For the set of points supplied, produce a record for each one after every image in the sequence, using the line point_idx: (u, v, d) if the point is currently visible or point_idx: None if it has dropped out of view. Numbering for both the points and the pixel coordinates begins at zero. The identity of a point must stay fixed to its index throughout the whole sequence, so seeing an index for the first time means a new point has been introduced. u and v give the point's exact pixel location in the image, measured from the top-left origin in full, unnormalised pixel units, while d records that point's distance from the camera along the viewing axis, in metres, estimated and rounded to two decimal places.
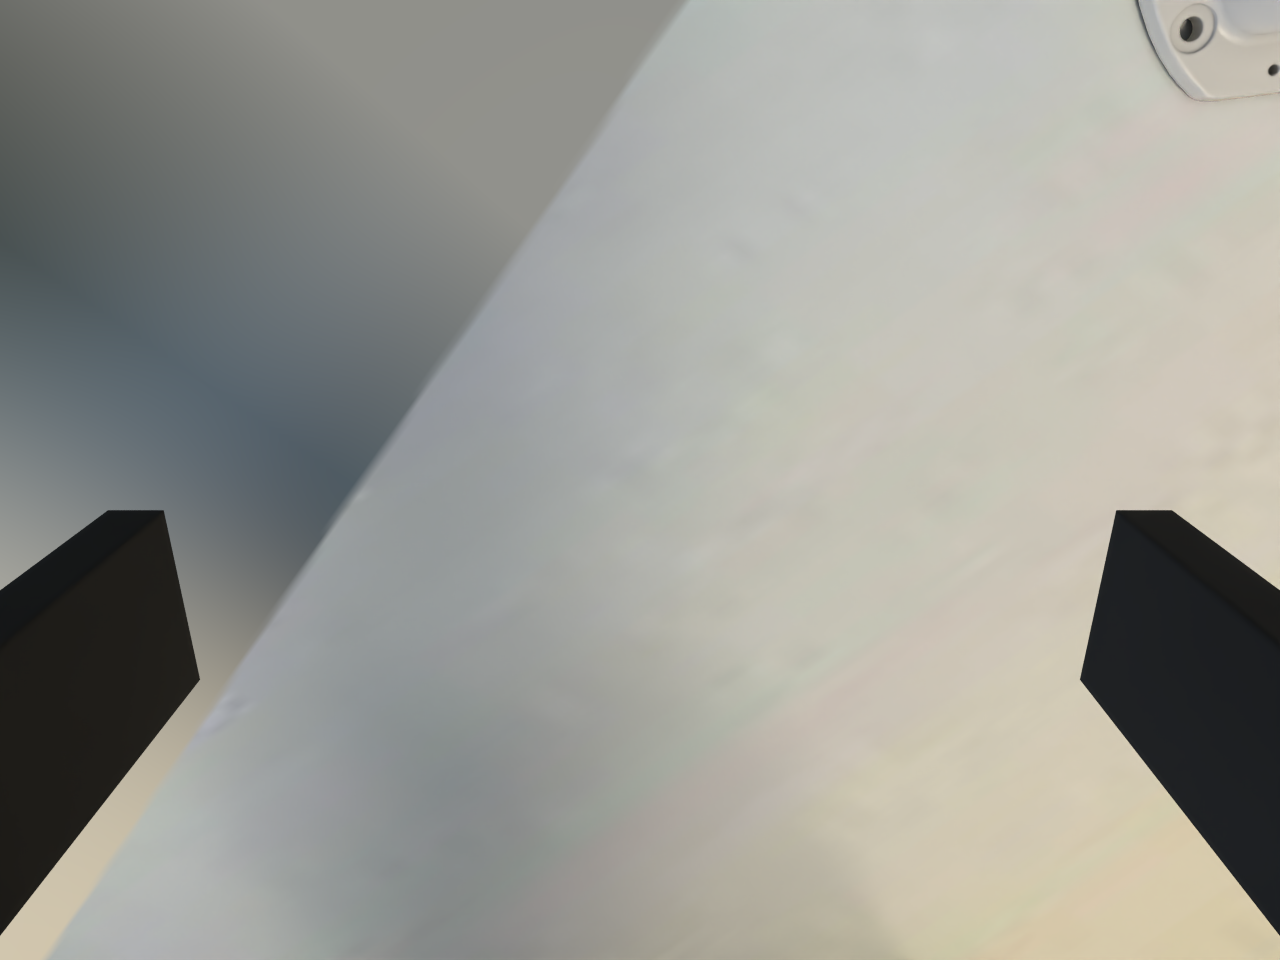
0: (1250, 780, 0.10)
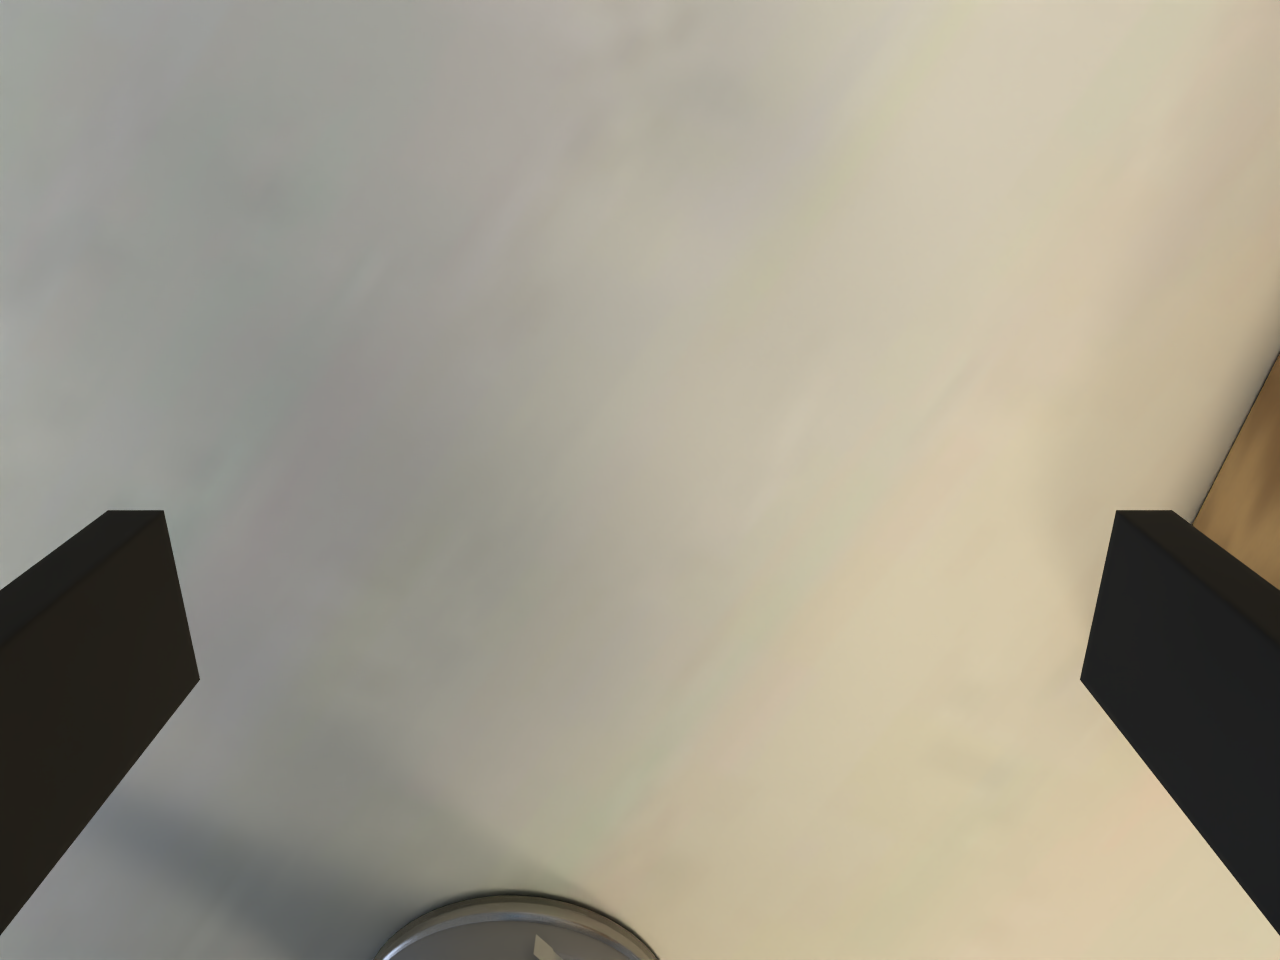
0: (1250, 780, 0.10)
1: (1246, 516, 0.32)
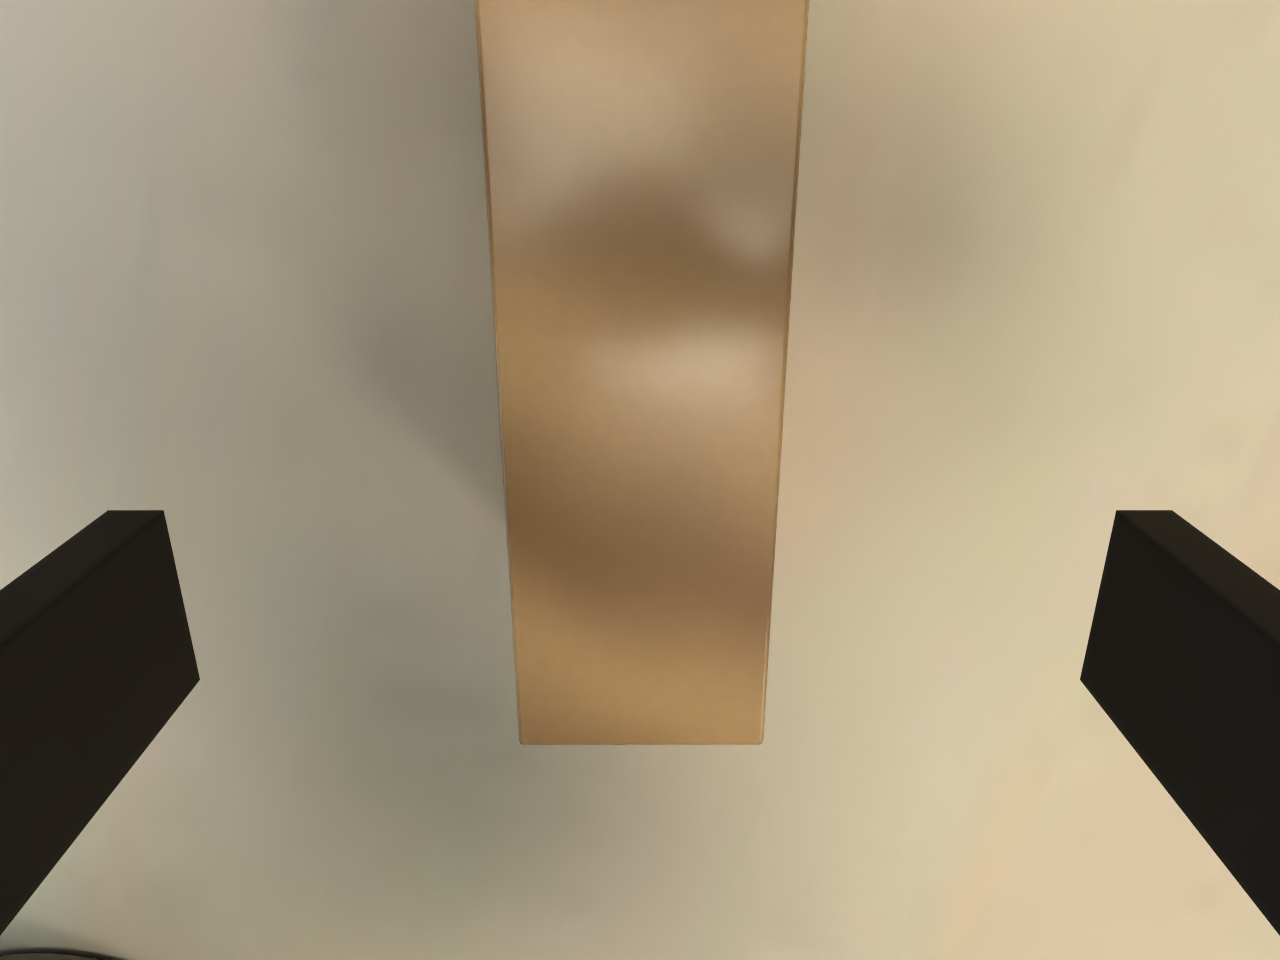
0: (1250, 780, 0.10)
1: None
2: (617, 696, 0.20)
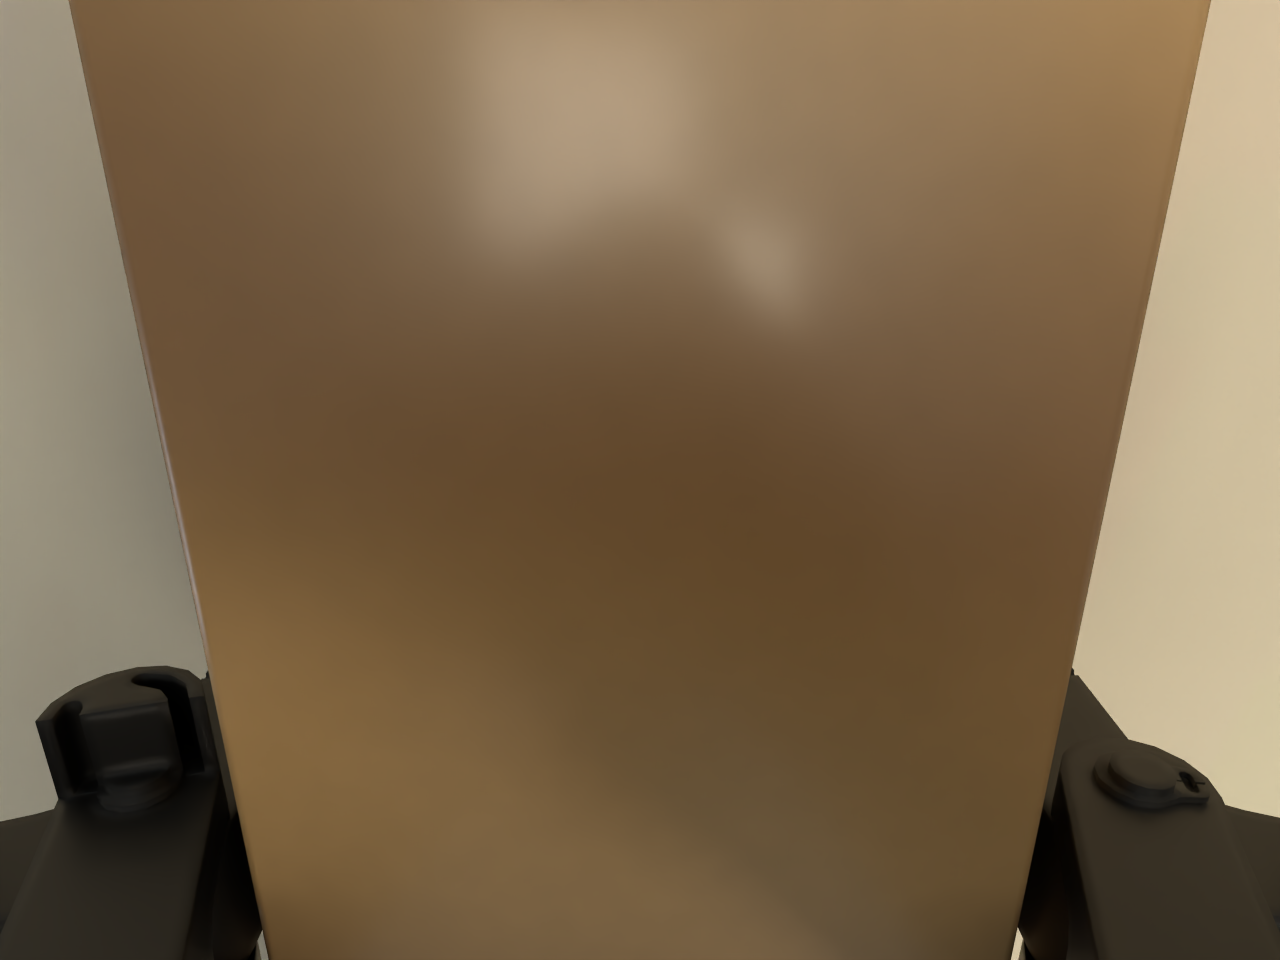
0: None
1: None
2: None
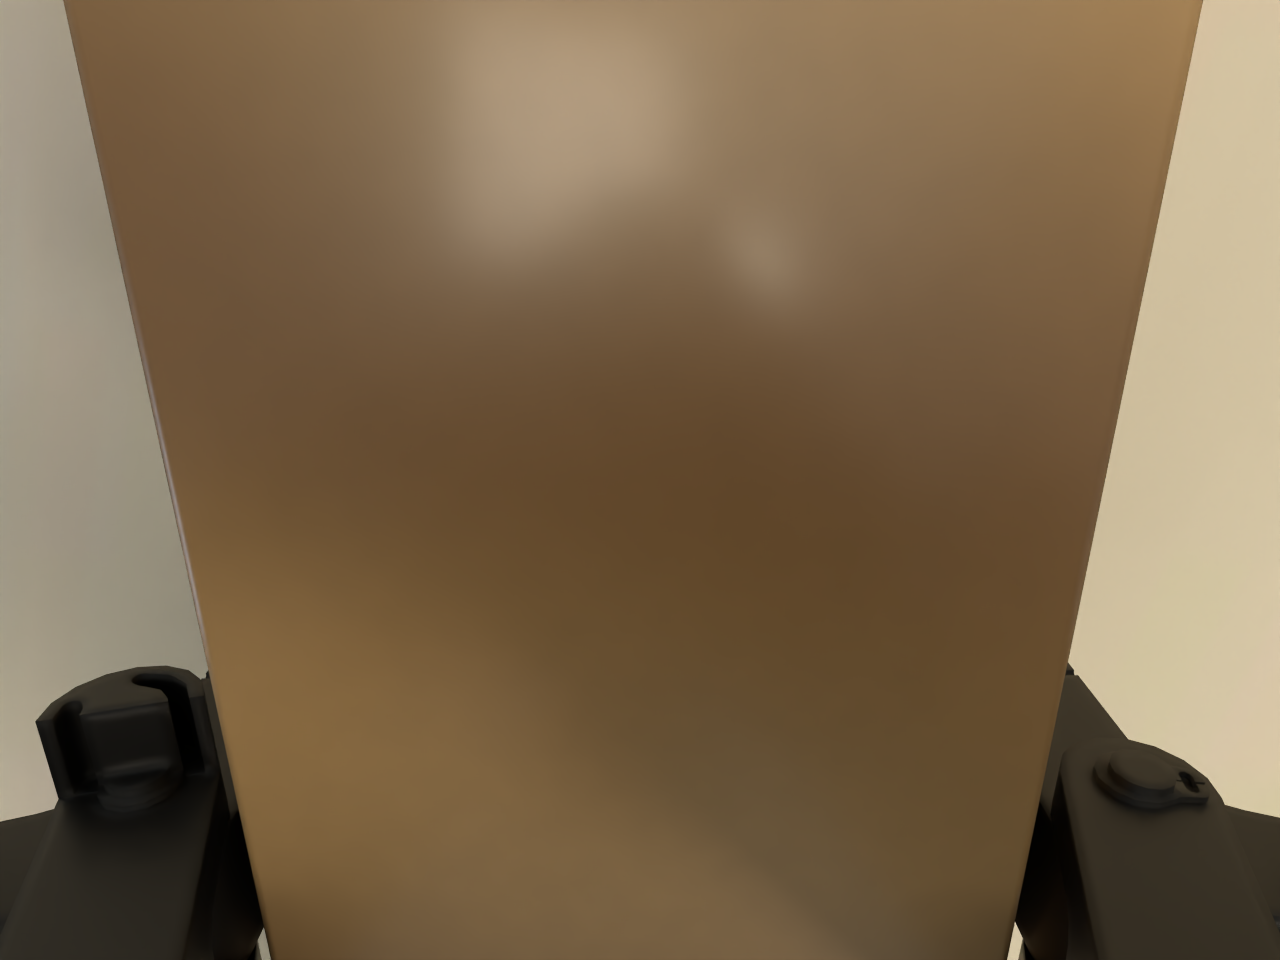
0: None
1: None
2: None
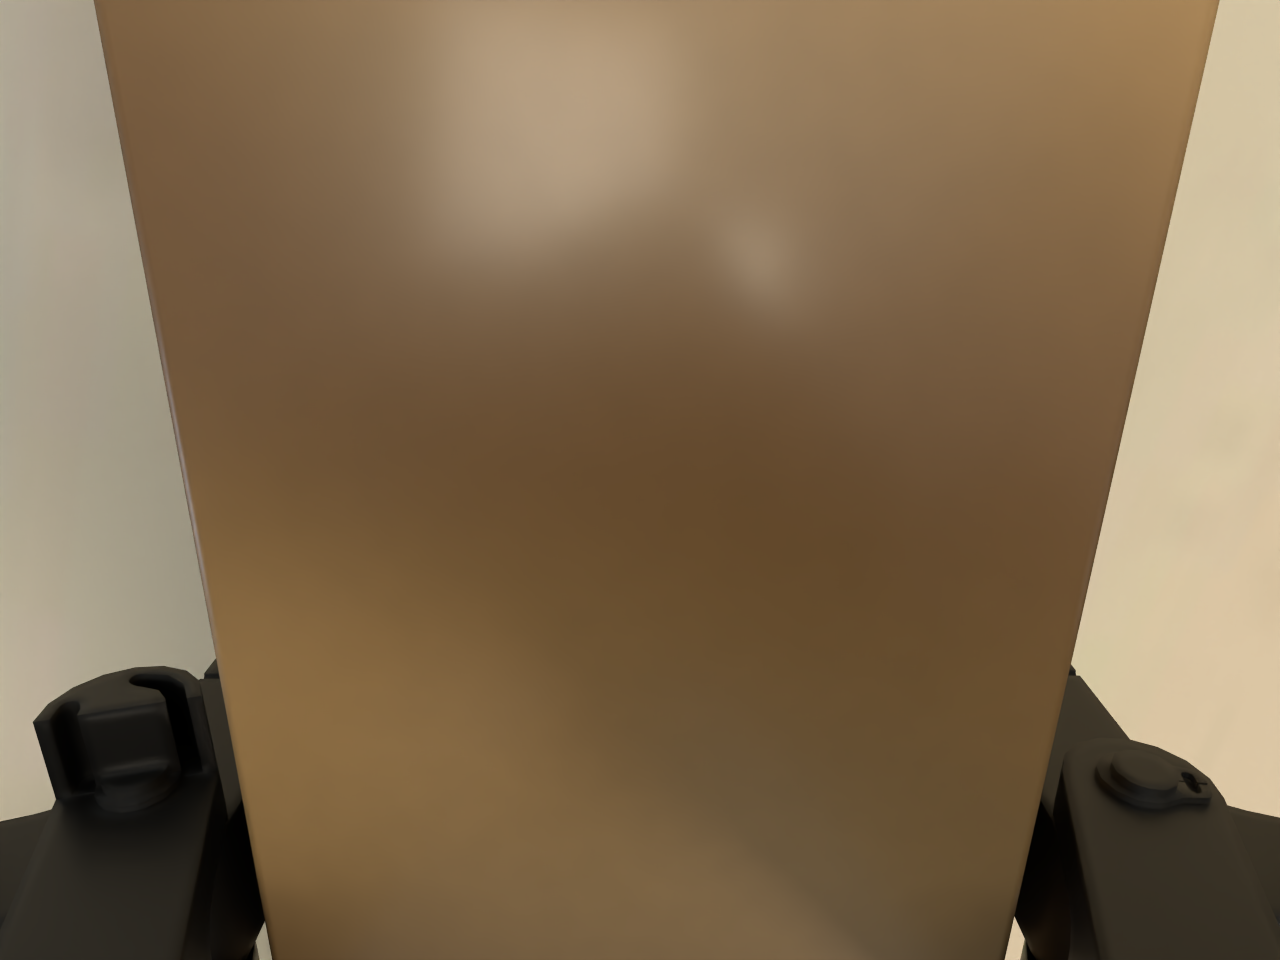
0: None
1: None
2: None
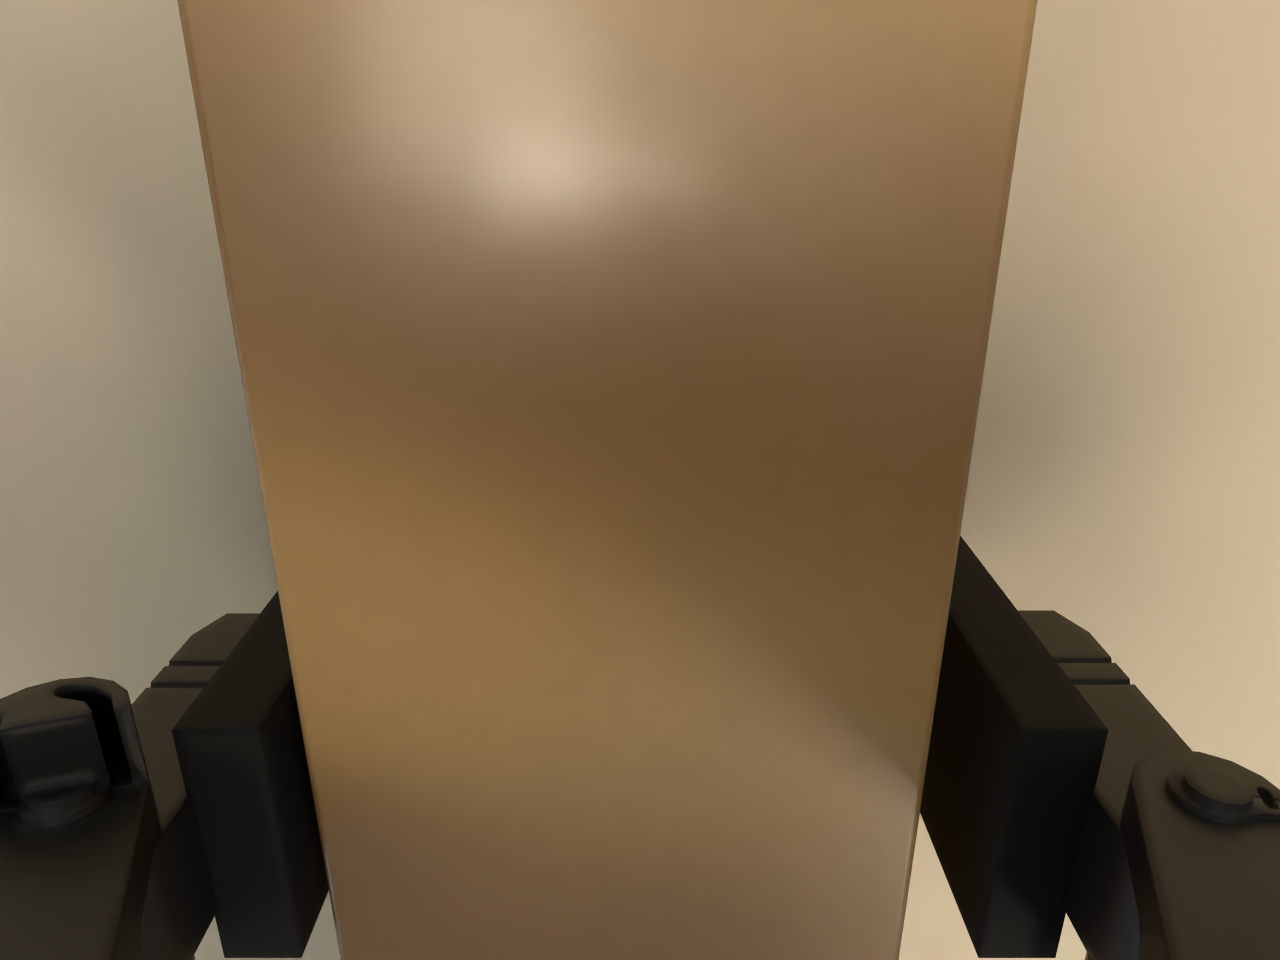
0: None
1: None
2: None
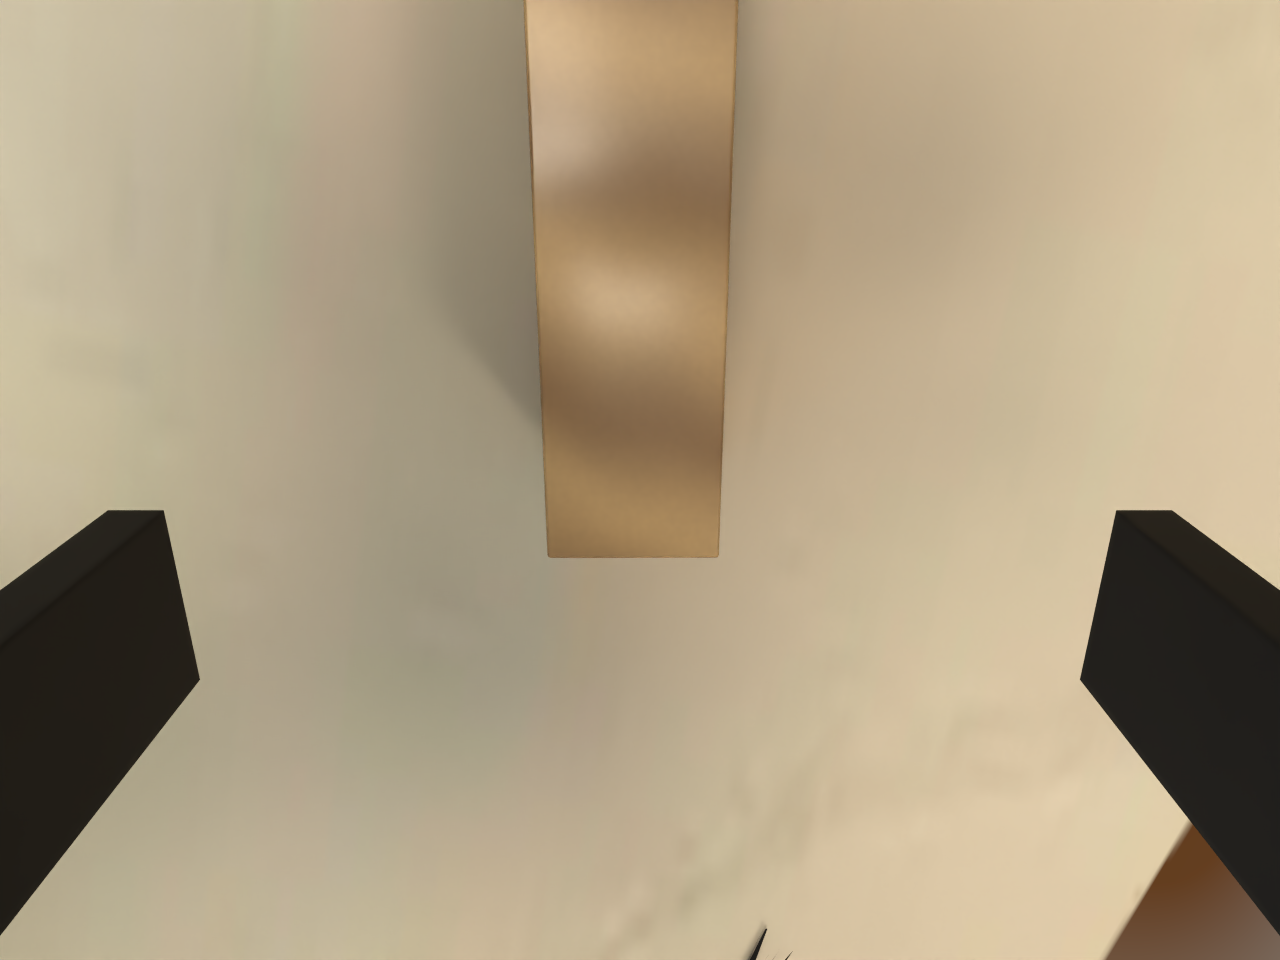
0: (1250, 780, 0.10)
1: None
2: (616, 521, 0.29)
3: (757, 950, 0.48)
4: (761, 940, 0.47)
